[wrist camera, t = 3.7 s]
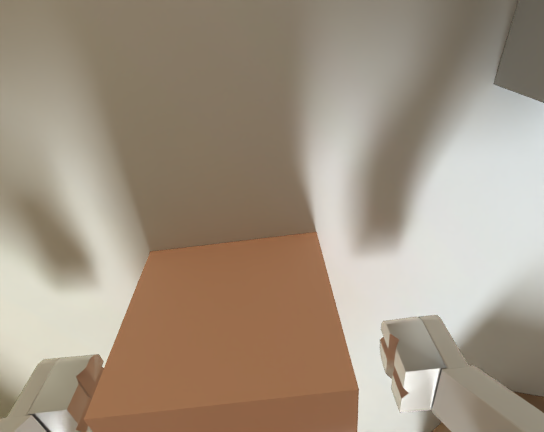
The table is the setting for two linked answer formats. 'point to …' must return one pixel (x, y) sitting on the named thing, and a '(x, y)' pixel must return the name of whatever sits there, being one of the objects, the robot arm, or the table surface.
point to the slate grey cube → (524, 52)
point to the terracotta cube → (230, 344)
